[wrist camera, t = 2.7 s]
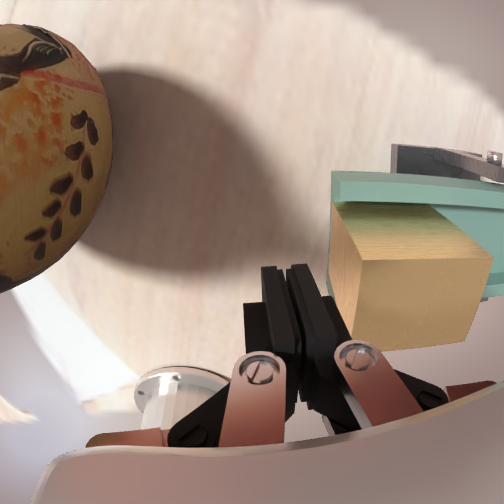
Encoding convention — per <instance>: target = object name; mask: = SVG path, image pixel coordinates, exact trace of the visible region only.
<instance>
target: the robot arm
mask: <svg viewBox="0 0 504 504" xmlns="http://www.w3.org/2000/svg"><path fill="white" fill-rule="evenodd" d="M261 280H262V302H256V303H243V310H244V328H245V346H246V355H244V356H242V357H241V358H239V360H238V361H237V362H236V363H235V365H234V368H233V373H232V378H231V382H228V381H226V380H225V379H223V378H221V377H219V376H217V375H215V374H212V373H210V372H207V371H203V370H199V369H195V368H188V367H167V368H161V369H157V370H153V371H151V372H149V373H147V374H145V375H144V376H143V377H141V378H140V380H139V381H138V383H137V385H136V388H135V391H134V399H135V403H136V405H137V407H138V408H139V410H140V411H141V412H142V413H143V419H142V423H141V428H140V430H134V431H125V432H114V433H102V434H98V435H95V436H94V437H92V438H91V439H90V440H89V442H88V443H87V444H86V448H83V449H79V450H74V451H71V452H67V453H65V454H62V455H60V456H58V457H57V458H55V459H53V460H52V461H51V462H50V463H49V464H48V466H47V467H46V468H45V470H44V472H43V474H42V475H41V477H40V479H39V482H38V484H37V487H36V489H35V492H34V495H33V497H32V500H31V504H504V381H502V382H499V383H496V382H494V381H482V382H476V383H470V384H462V385H454V386H446V387H445V389H444V390H442V389H441V388H439V387H437V386H435V385H433V384H430V383H428V382H425V381H423V380H420V379H417V378H415V377H412V376H410V375H407V374H405V373H402V372H400V371H397V370H395V369H393V368H392V366H391V365H390V364H389V362H388V361H387V360H386V358H385V357H384V356H383V354H382V353H381V351H380V350H379V349H378V348H377V347H376V346H375V345H373V344H371V343H369V342H366V341H363V340H352V338H351V335H350V333H349V331H348V329H347V327H346V325H345V322H344V320H343V318H342V316H341V314H340V312H339V310H338V308H337V305H336V303H335V301H334V299H333V298H332V296H322V297H321V294H320V292H319V290H318V288H317V285H316V283H315V281H314V278H313V276H312V274H311V272H310V269H309V267H308V265H307V264H294V265H292V266H291V269H286V281H285V277H284V274H283V270H282V269H280V270H277V267H276V266H268V267H261ZM298 390H299V395H300V400H301V402H307V406H308V410H311V409H314V410H315V411H317V412H318V413H320V414H322V419H323V423H324V425H325V427H326V429H327V431H328V433H329V436H328V437H322V438H316V439H310V440H303V441H296V442H288V443H284V429H285V422H286V421H287V420H288V419H289V418H290V417H291V416H292V414H294V411H295V403H297V396H298Z"/></svg>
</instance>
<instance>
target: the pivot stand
mask: <svg viewBox="0 0 504 504" xmlns="http://www.w3.org/2000/svg"><path fill="white" fill-rule="evenodd" d="M391 173H400V174H414V175H427V176H438V177H448V178H458V179H467V180H475V181H480V175H481V176H483V177H486V178H489V179H491V180H493V181H496V182H502V183H504V165H503V164H502V153H498V152H495V151H490V150H487V159H485V158H482V155H481V154H477V153H472V152H466V151H459V150H453V149H445V148H437V147H426V146H416V145H404V144H392V150H391ZM487 300H488V297H485V298H481V300H480V302H483V301H487Z"/></svg>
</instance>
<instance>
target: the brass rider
mask: <svg viewBox="0 0 504 504" xmlns="http://www.w3.org/2000/svg"><path fill="white" fill-rule="evenodd" d="M493 258H494V257H493V256H492V255H491V254H490V253H488V252H487V251H486V250H485V249H484V248H483V247H482V246H480V245H479V244H478V243H477V242H476V241H475V240H473V239H472V238H471V237H470V236H469V235H467V234H466V233H465V232H464V231H462V230H461V229H460V228H459V227H457V226H456V225H455V224H454V223H452V222H451V221H450V220H448V219H447V218H446V217H445V216H443V215H442V214H441V213H439V212H438V211H437V210H435V209H434V208H433V207H431V206H430V205H428V204H414V203H386V202H332V219H331V240H330V257H329V271H328V272H329V276H330V280H331V284H332V288H333V292H334V296H335V300H336V304H337V308H338V310H339V312H340V314H341V316H342V318H343V320H344V322H345V325H346V327H347V329H348V331H349V333H350V335H351V338H352V340H363V341H366V342H369V343H371V344H373V345H375V346H376V347H377V348H378V349H379V350H380V351H381V352H382V351H393V350H403V349H411V348H420V347H429V346H436V345H443V344H450V343H456V342H462V341H465V338H466V336H467V334H468V331H469V329H470V326H471V324H472V321H473V319H474V316H475V314H476V311H477V308H478V306H479V303H480V300H481V297H482V294H483V291H484V288H485V285H486V282H487V279H488V276H489V273H490V269H491V266H492V262H493Z"/></svg>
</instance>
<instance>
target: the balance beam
mask: <svg viewBox="0 0 504 504" xmlns="http://www.w3.org/2000/svg"><path fill="white" fill-rule="evenodd" d="M332 202H386V203H414V204H428V205H430V206H431V207H433V208H434V209H435V210H437V211H438V212H439V213H441V214H442V215H443V216H445V217H446V218H447V219H448V220H450V221H451V222H452V223H454V224H455V225H456V226H457V227H459V228H460V229H461V230H462V231H464V232H465V233H466V234H467V235H469V236H470V237H471V238H472V239H473V240H475V241H476V242H477V243H478V244H479V245H480V246H482V247H483V248H484V249H485V250H486V251H487V252H488V253H490V254H491V255H492V256H493V257H494V258H493V262H492V266H491V269H490V273H489V276H488V279H487V282H486V285H485V288H484V291H483V294H482V297H481V298H485V297H494V296H502V295H504V184H497V183H490V182H483V181H475V180H467V179H458V178H448V177H438V176H427V175H414V174H400V173H382V172H358V171H331V209H330V234H329V252H328V268H327V282H326V283H327V288H328V292H329V296H332V298H333V299H334V301H335V303H336V300H335V296H334V292H333V288H332V284H331V280H330V276H329V272H328V271H329V257H330V240H331V219H332ZM336 305H337V304H336Z"/></svg>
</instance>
